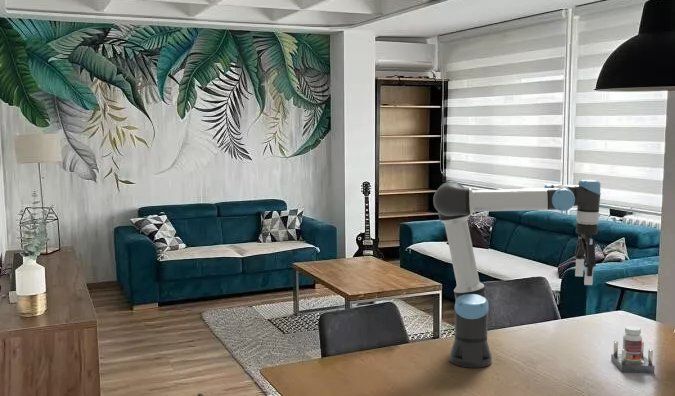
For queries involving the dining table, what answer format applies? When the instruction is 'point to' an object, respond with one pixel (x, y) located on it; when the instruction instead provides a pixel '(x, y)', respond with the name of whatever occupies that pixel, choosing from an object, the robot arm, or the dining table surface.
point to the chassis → (631, 366)
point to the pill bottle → (632, 343)
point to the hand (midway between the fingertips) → (583, 280)
